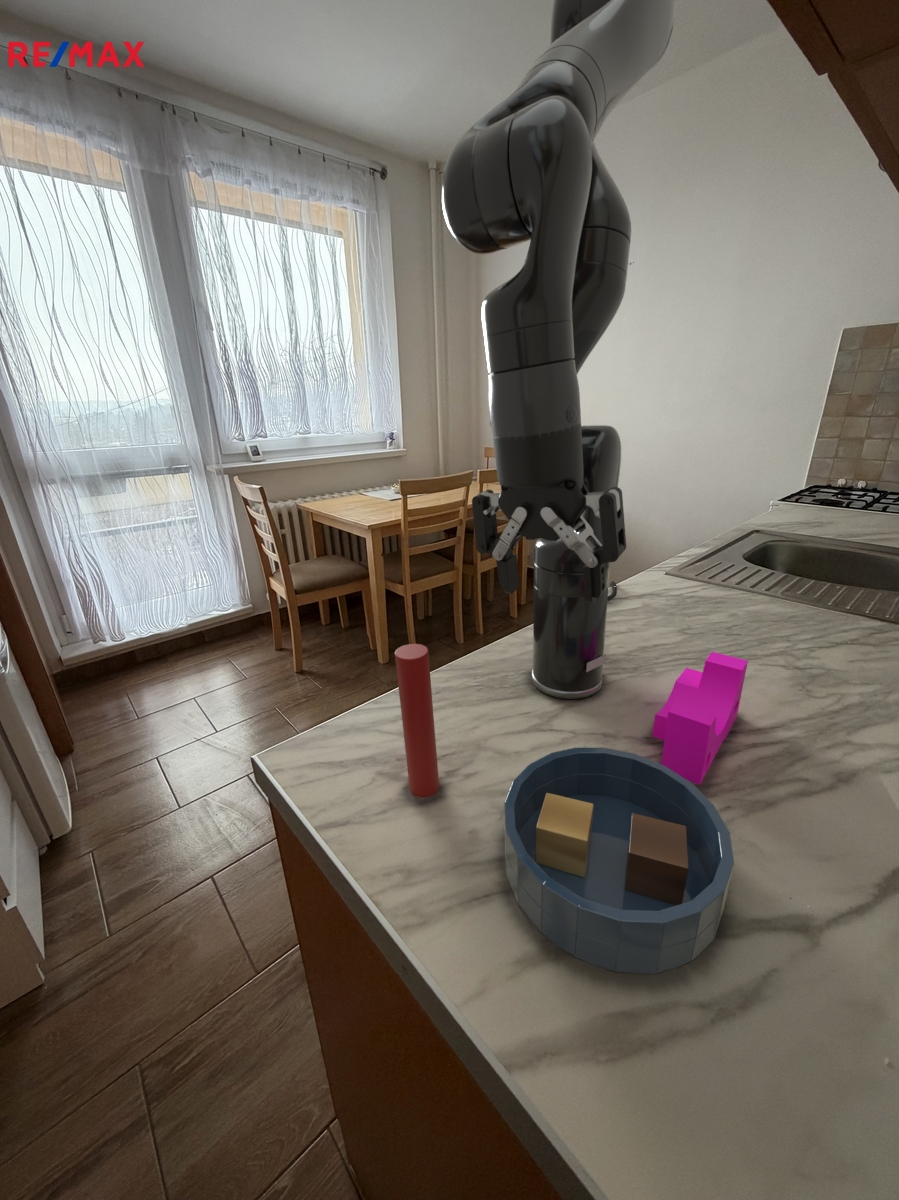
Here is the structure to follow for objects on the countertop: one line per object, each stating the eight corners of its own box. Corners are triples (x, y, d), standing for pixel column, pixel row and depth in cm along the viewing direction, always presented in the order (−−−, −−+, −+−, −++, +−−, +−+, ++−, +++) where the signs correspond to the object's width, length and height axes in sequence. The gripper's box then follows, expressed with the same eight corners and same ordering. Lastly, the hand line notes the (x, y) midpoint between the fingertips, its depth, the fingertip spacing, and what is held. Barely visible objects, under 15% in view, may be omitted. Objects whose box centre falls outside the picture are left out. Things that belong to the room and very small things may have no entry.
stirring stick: (417, 777, 51) (404, 641, 45) (444, 783, 50) (433, 645, 44) (404, 797, 48) (388, 656, 42) (432, 804, 47) (419, 661, 41)
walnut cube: (627, 848, 41) (632, 812, 39) (679, 862, 39) (686, 825, 38) (624, 890, 37) (629, 852, 36) (681, 907, 36) (688, 868, 34)
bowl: (530, 777, 50) (531, 732, 48) (711, 819, 44) (720, 770, 42) (478, 928, 36) (476, 874, 34) (733, 1021, 30) (749, 963, 28)
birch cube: (545, 826, 43) (546, 791, 42) (591, 838, 42) (593, 803, 40) (535, 863, 40) (535, 827, 38) (584, 878, 38) (587, 841, 37)
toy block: (681, 698, 61) (689, 645, 59) (737, 715, 57) (748, 660, 55) (635, 762, 51) (642, 702, 48) (699, 789, 47) (710, 725, 44)
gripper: (633, 408, 40) (634, 586, 47) (486, 424, 48) (505, 574, 55) (604, 424, 35) (610, 622, 41) (443, 439, 43) (470, 603, 49)
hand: (550, 594), depth 48 cm, fingers open, 8 cm apart
